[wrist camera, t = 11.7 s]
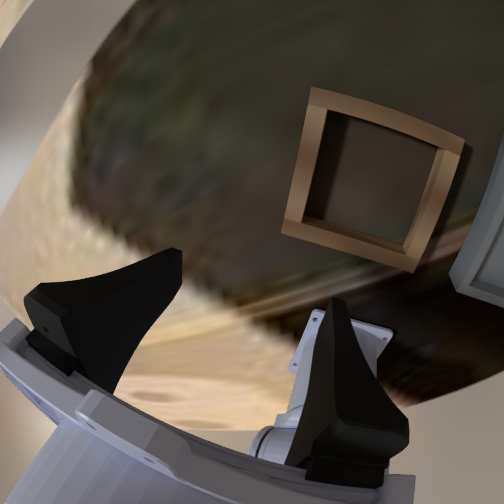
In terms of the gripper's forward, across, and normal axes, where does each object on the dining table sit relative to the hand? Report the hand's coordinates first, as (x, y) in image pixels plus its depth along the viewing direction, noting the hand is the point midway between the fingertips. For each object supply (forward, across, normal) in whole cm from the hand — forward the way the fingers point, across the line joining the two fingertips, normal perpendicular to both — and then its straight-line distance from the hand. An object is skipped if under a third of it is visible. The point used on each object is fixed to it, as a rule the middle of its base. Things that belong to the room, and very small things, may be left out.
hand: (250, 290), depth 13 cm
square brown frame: (+10, -5, -4) cm, 12 cm away
